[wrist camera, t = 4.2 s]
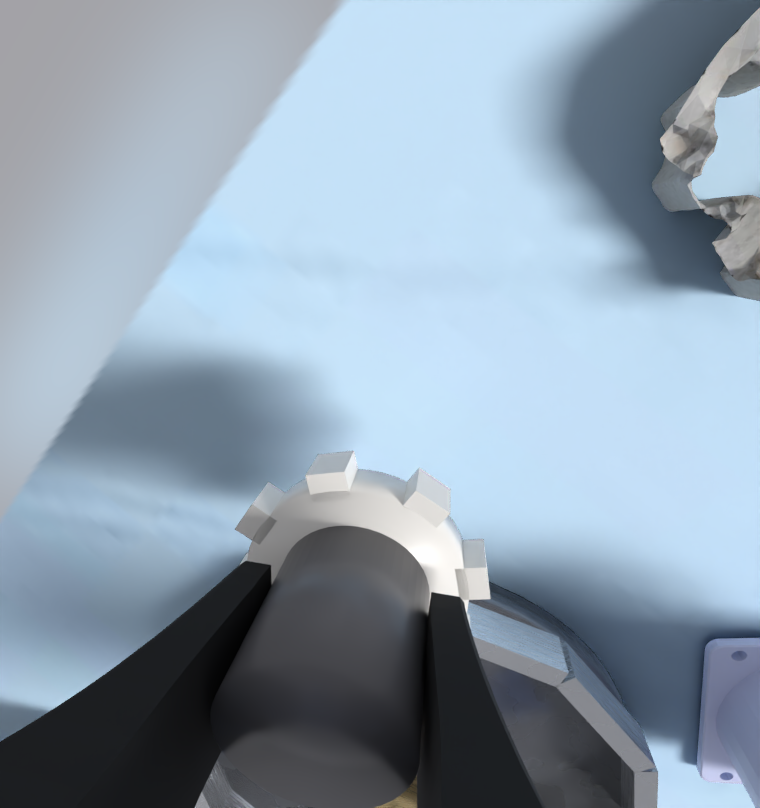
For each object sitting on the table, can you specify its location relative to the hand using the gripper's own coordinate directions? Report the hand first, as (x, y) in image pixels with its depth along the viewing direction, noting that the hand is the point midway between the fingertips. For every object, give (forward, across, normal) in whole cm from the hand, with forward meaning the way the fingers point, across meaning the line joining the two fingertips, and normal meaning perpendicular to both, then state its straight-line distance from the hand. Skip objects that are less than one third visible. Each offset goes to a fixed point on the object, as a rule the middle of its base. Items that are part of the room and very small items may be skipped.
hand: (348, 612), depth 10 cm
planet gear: (+2, 0, 0) cm, 2 cm away
